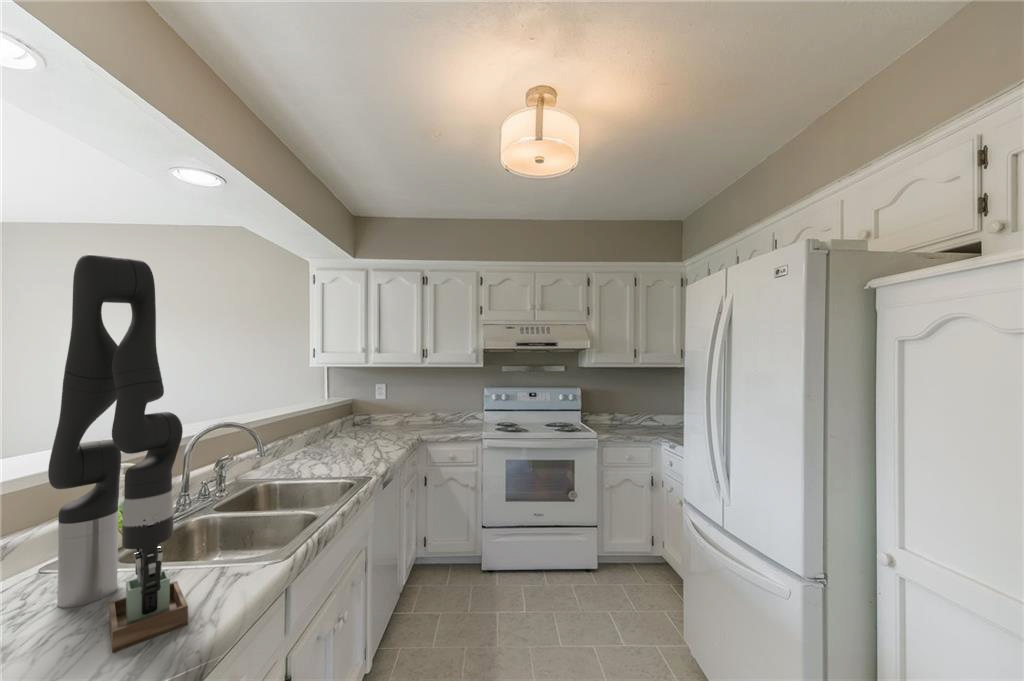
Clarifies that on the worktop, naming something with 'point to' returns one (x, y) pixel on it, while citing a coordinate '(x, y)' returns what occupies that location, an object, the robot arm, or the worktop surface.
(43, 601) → the worktop surface
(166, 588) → the small crate
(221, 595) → the worktop surface
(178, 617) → the big crate
